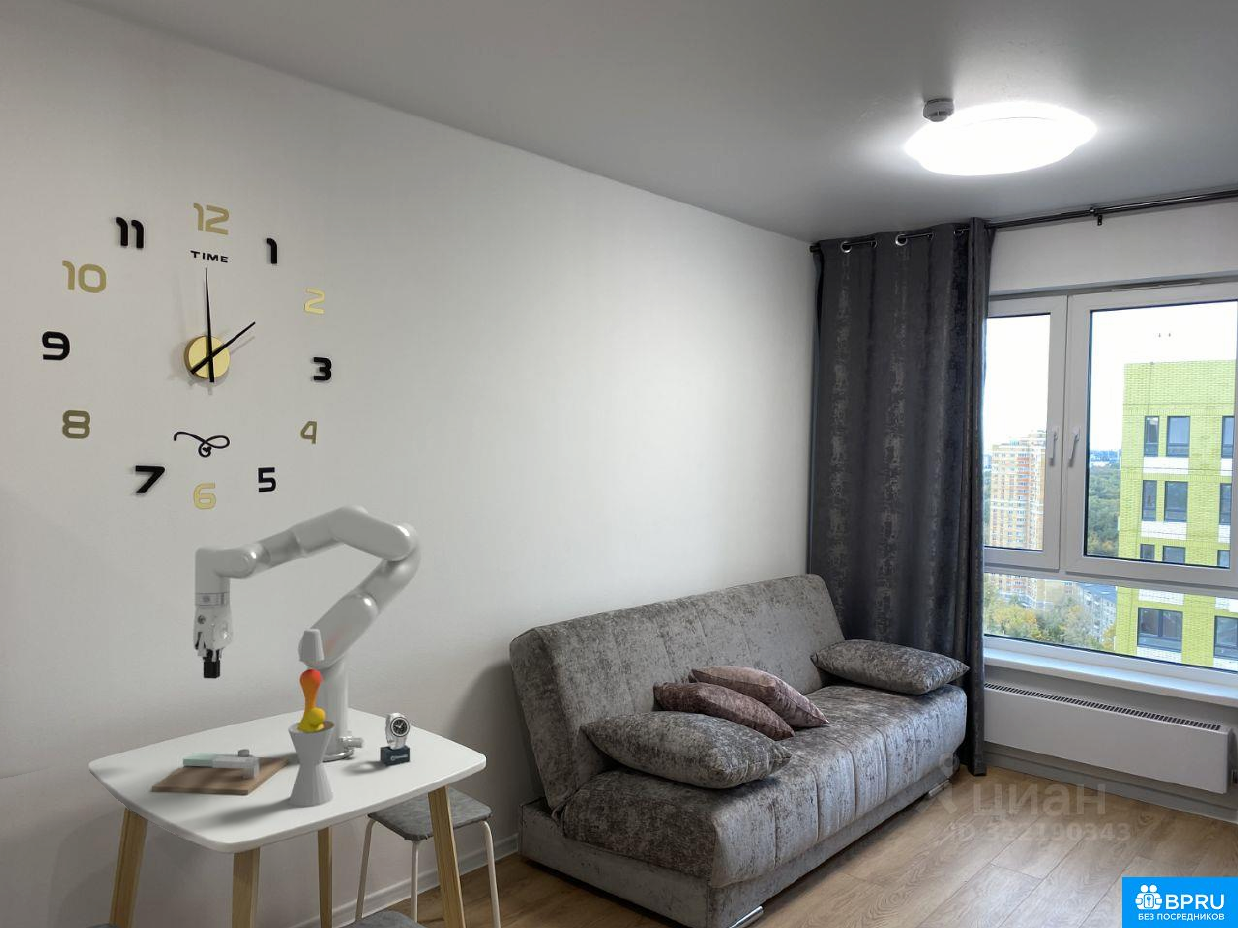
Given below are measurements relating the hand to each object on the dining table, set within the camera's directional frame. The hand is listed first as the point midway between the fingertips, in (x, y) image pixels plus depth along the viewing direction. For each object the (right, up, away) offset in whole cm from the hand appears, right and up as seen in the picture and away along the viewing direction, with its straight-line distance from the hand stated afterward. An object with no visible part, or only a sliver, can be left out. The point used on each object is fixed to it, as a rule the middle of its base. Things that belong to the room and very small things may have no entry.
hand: (211, 677), depth 215 cm
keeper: (+12, -19, -15) cm, 27 cm away
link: (+6, -17, -8) cm, 20 cm away
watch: (+43, -19, -2) cm, 48 cm away
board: (+8, -19, -12) cm, 24 cm away
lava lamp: (+32, -19, -25) cm, 45 cm away
